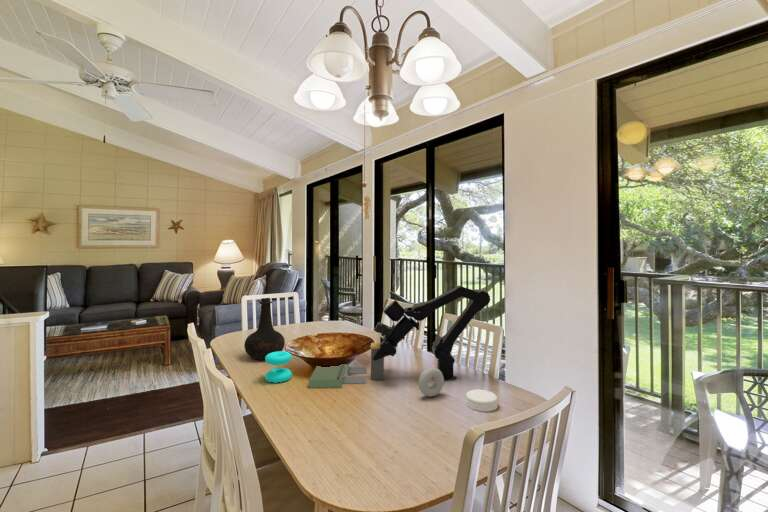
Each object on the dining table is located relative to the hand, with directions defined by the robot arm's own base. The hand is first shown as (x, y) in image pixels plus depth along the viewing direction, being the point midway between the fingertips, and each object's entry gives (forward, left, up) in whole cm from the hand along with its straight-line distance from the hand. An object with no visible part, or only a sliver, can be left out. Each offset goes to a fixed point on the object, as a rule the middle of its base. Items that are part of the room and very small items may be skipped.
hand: (373, 357), depth 143 cm
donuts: (+15, +34, -8) cm, 38 cm away
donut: (-25, -11, -8) cm, 28 cm away
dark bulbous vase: (+47, +35, -8) cm, 59 cm away
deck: (+6, +12, -8) cm, 16 cm away
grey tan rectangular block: (-1, -1, -8) cm, 8 cm away
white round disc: (-38, -22, -8) cm, 45 cm away
